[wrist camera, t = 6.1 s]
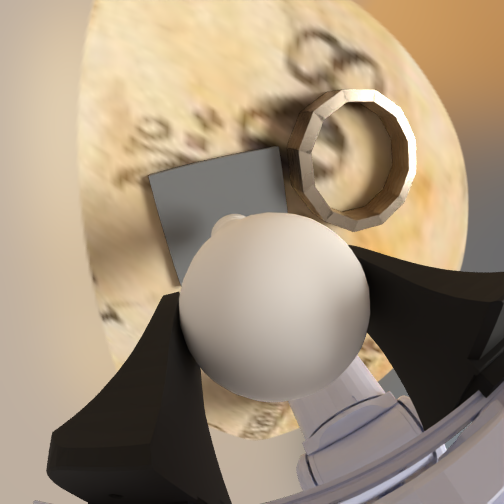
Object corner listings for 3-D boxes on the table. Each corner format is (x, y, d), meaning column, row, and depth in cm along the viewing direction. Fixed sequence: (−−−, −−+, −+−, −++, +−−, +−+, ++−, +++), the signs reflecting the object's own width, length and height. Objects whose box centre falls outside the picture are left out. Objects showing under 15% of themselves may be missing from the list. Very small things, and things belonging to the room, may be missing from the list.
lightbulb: (172, 275, 16) (181, 445, 7) (184, 170, 14) (198, 242, 5) (270, 282, 18) (359, 421, 8) (292, 187, 16) (441, 266, 6)
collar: (399, 207, 22) (415, 215, 20) (296, 233, 20) (308, 244, 19) (393, 92, 17) (411, 92, 16) (278, 95, 16) (289, 92, 14)
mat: (290, 257, 21) (293, 260, 20) (182, 285, 20) (182, 290, 19) (275, 146, 17) (278, 146, 17) (149, 174, 16) (148, 176, 16)
